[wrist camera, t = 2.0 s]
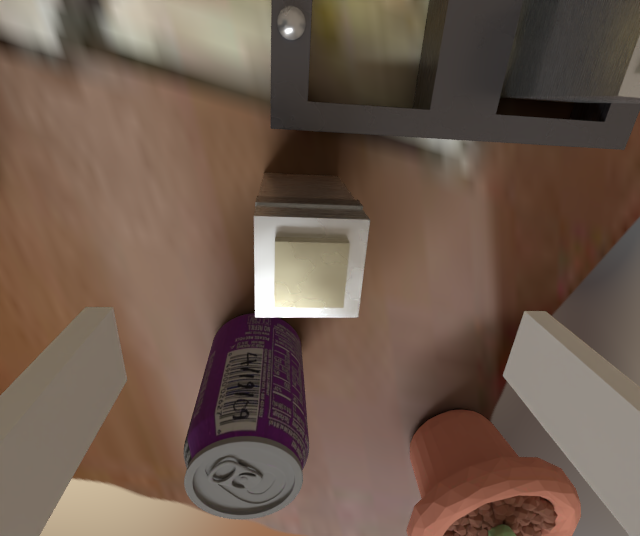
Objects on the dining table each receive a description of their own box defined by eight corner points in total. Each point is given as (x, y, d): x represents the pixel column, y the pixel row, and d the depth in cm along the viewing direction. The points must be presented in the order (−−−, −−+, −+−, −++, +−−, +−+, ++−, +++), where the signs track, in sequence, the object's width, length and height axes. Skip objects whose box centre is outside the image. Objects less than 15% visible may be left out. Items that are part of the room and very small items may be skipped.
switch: (272, 124, 23) (265, 143, 14) (273, -81, 19) (265, -261, 10) (588, 144, 26) (770, 171, 16) (650, -34, 22) (944, -140, 12)
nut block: (263, 244, 27) (253, 326, 17) (263, 171, 24) (251, 217, 15) (332, 245, 27) (361, 326, 18) (338, 174, 25) (374, 221, 15)
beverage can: (196, 353, 30) (148, 498, 19) (246, 292, 28) (224, 414, 17) (267, 391, 32) (260, 538, 21) (318, 336, 30) (338, 468, 20)
